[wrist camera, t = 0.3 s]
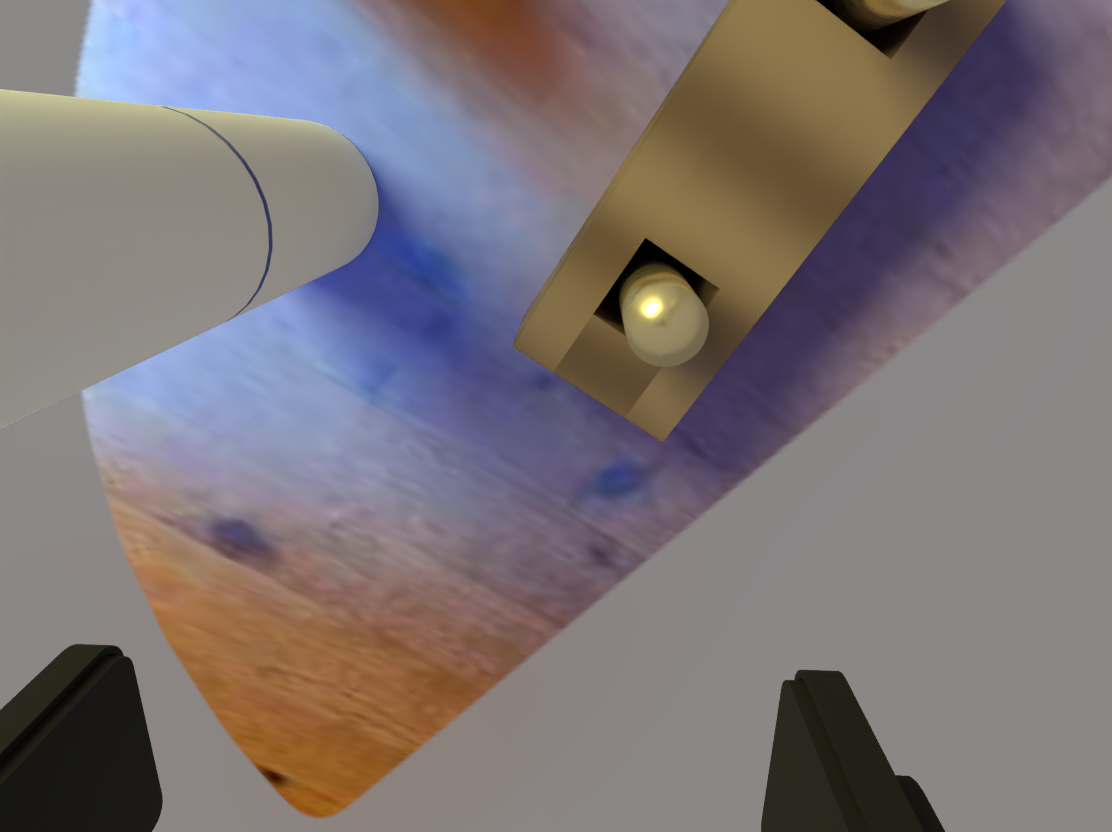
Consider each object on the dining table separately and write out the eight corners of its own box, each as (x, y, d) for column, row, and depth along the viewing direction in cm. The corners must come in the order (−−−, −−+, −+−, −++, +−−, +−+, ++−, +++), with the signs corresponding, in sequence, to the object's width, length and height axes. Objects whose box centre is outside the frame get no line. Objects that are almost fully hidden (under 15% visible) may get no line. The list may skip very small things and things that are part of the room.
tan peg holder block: (839, -170, 29) (900, -247, 23) (986, -47, 30) (1077, -91, 25) (524, 316, 36) (512, 346, 31) (651, 398, 38) (662, 442, 32)
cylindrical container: (408, 221, 35) (44, 365, 12) (298, 298, 37) (-215, 563, 13) (315, 87, 33) (-342, -59, 10) (204, 176, 35) (-591, 231, 11)
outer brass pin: (645, 246, 31) (657, 268, 25) (701, 285, 31) (726, 315, 25) (605, 304, 32) (608, 338, 26) (660, 341, 32) (675, 381, 26)
